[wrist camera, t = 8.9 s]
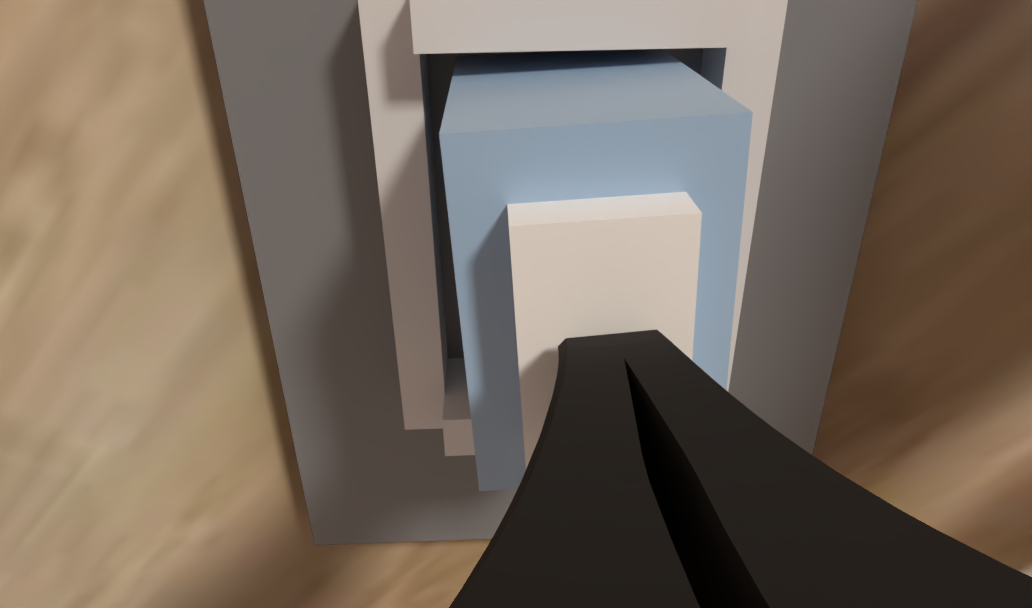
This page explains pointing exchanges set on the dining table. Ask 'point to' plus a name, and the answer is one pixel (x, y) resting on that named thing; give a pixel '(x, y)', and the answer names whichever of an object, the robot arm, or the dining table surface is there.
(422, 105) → the port panel
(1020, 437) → the dining table surface
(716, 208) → the plug
